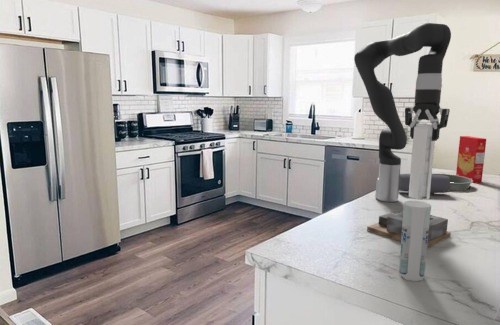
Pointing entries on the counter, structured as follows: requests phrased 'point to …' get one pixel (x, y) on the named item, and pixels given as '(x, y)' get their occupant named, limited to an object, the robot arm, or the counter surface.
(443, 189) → the bluetooth speaker
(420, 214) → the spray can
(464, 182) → the cake pan
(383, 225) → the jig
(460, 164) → the food packaging
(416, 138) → the paper towel roll
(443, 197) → the counter surface
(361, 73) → the robot arm
